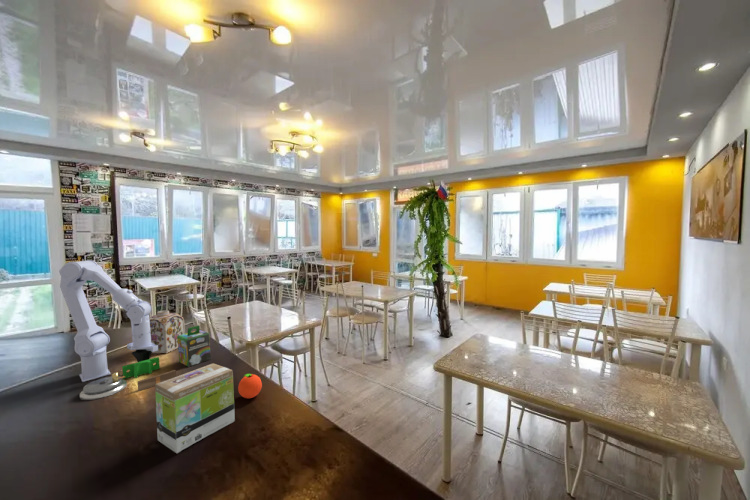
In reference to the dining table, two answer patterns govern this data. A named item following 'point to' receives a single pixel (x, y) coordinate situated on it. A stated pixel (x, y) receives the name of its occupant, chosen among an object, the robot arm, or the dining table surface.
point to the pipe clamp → (141, 367)
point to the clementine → (249, 386)
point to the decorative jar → (166, 330)
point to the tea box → (194, 406)
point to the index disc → (103, 384)
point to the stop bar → (155, 380)
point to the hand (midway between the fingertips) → (144, 367)
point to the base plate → (104, 394)
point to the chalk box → (194, 347)
